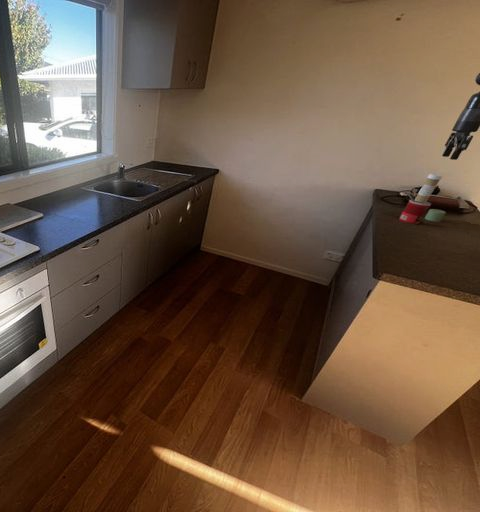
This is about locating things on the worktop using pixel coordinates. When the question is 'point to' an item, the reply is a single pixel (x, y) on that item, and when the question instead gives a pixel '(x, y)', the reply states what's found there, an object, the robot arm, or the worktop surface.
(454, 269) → the worktop surface
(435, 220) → the green rounded block
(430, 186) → the sprinkles bottle
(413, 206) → the canned food
